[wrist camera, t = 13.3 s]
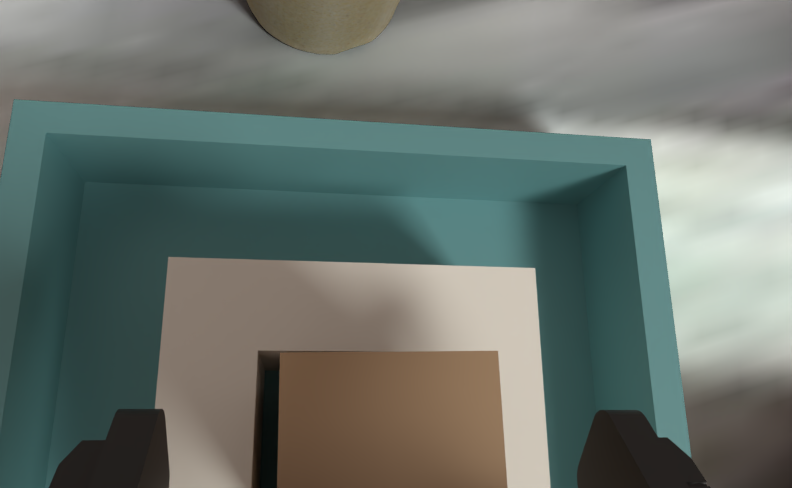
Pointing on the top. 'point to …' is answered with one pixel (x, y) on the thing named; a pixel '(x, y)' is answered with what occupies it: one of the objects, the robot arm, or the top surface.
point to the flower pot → (324, 22)
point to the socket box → (318, 278)
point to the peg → (390, 420)
